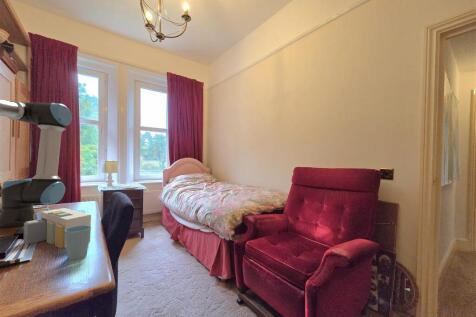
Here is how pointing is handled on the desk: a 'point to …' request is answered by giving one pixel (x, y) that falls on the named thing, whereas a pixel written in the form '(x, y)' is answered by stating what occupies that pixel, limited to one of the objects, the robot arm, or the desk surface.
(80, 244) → the cup
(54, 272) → the desk surface
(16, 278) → the desk surface
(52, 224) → the pale green block
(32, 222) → the grey square block
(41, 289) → the desk surface
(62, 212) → the console
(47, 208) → the watch
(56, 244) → the yellow square block
